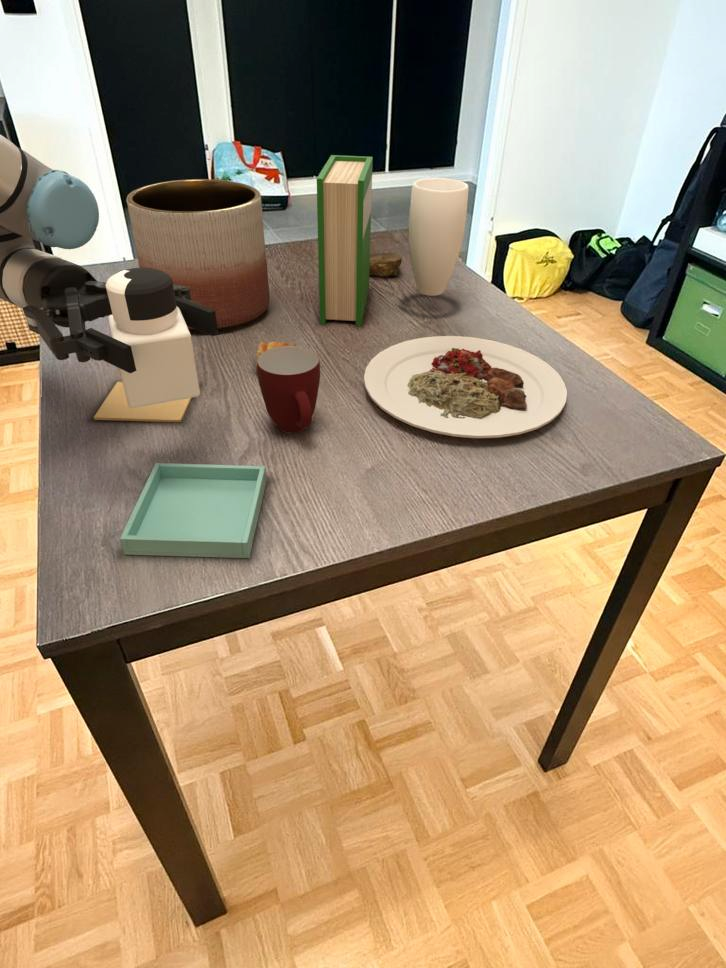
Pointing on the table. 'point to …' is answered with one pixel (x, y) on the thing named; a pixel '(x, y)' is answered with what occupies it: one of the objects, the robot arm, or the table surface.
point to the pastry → (269, 347)
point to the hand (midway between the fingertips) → (174, 340)
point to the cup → (436, 231)
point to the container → (152, 337)
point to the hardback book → (344, 237)
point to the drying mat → (140, 409)
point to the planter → (205, 243)
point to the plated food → (465, 387)
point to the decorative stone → (384, 264)
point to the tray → (196, 511)
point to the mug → (289, 385)
